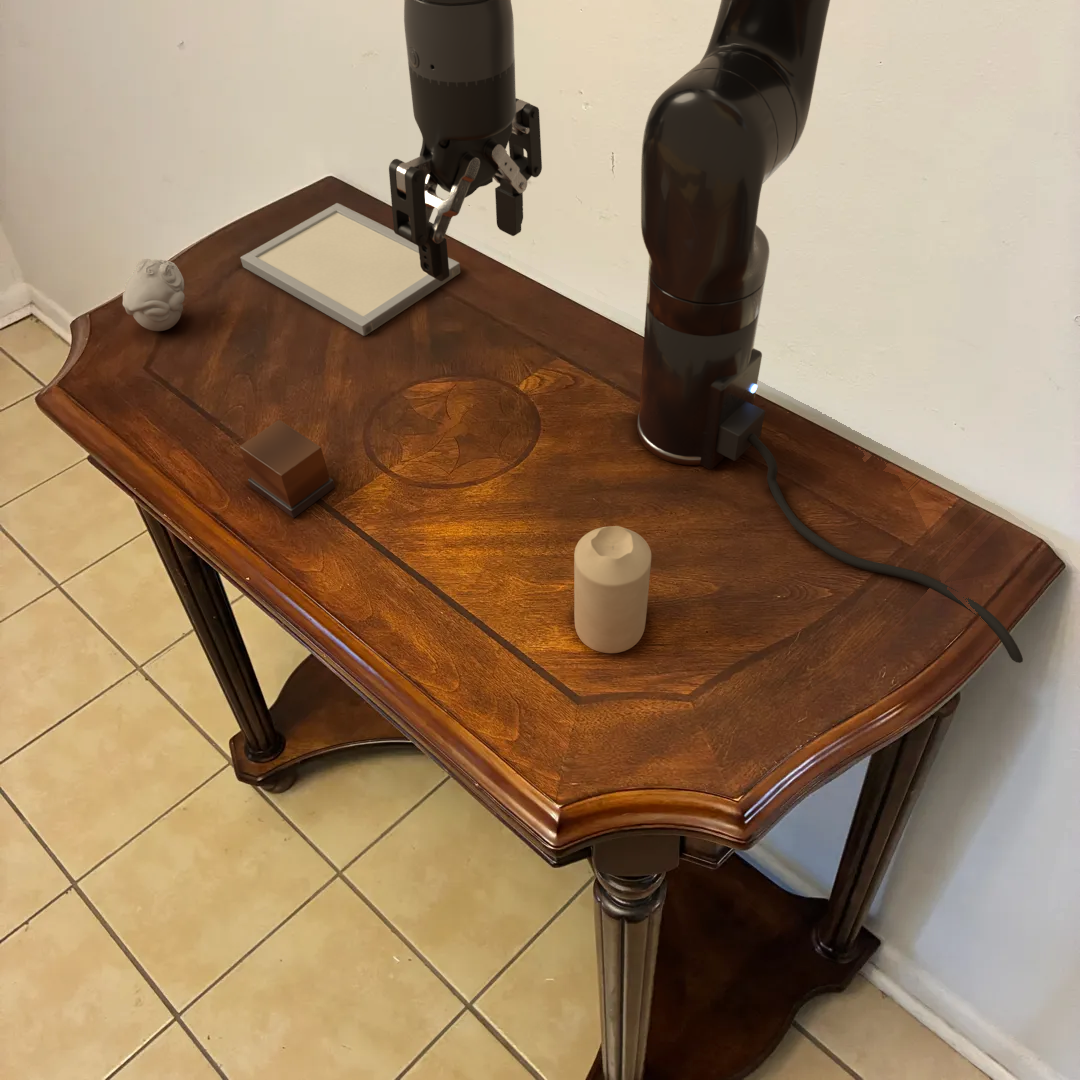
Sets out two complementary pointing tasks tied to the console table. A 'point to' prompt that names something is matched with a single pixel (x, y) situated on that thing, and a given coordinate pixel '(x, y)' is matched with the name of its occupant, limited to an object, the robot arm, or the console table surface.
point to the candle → (611, 588)
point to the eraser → (286, 468)
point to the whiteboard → (346, 268)
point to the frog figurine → (155, 294)
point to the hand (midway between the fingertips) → (474, 252)
